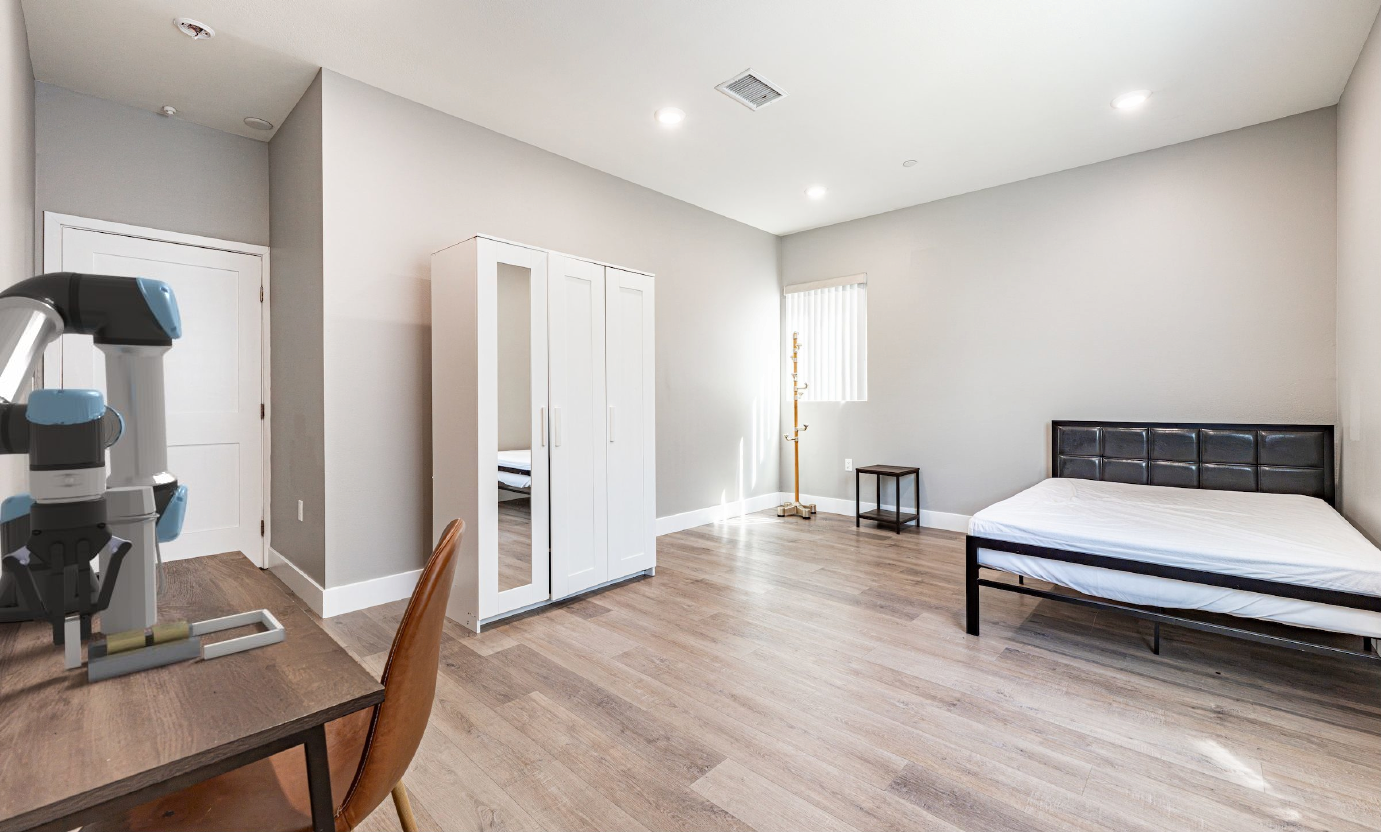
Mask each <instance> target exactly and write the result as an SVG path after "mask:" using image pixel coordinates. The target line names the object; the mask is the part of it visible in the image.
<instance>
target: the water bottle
mask: <svg viewBox="0 0 1381 832" xmlns="http://www.w3.org/2000/svg"><path fill="white" fill-rule="evenodd" d="M101 497H104V498H105V499H106V500H107V526H108V528H109V529H110V530H111V532H112V536H114V537H117V538H120V539H122V540H130V541H131V544H132V547H131V549H130V550H129V551H128V552H127V554H126V555H125V556H124V558H123V559H122V563H121V566H120V569H119V573H118V576H117V580H116V583H115V586H114V590H113V593H112V596H111V600H110V603H109V606H108V608H107V609H106V610H103V611H99V623H100V625H99V627H100V628H99V629H100V631H99V632H100V633H101V634H103V635H106V636H108V635H113V634H118V633H123V632H128V631H133V630H138V629H143V630H144V629H147V628H149V627H153V626H155V625H156V623H157V622H158V613H157V612H158V607H157V603H158V602H157V598H159V597H162V596H163V595H164V590H165V577H164V571H163V569H164V568H163V562H162V558H161V549H160V545H159V544H160V543H158V536H157V530H156V523H155V522H156V520H157V517H159V516H160V515H159V514H158V513H155V511H156V506H155V500H154V493H153V487H151V486H133V487H119V488H110V489H106V492H105V493H104V494H101ZM109 547H110V544H108V543H107V544H106V546H105V547H104V548H103V549H102V550H101V551H100V552H99V554H98V581H99V592H100V590H101V587H102V584H103V580H104V577H105V574H106V570H107V567H108V564H109V560H110V557H111V555H112V553H110V551H109ZM156 562H157V564H156ZM156 566H157V568H158V573H159V574H158V575H159V591H158V594H157V568H156Z"/></svg>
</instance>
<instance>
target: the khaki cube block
mask: <svg viewBox="0 0 1381 832" xmlns="http://www.w3.org/2000/svg"><path fill="white" fill-rule="evenodd" d="M188 624H189V623H188V622H187V620H185V619H183V620H179V621H174V622H169V623H165V624H159V625H152V626H151V631H152V646H155V645H160V644H164V643H169V642H173V641H178V640H183V639H187V638H189V626H188Z"/></svg>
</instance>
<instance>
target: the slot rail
mask: <svg viewBox="0 0 1381 832" xmlns="http://www.w3.org/2000/svg"><path fill="white" fill-rule="evenodd" d="M187 624H188V626H189V638H187V639H183V640H178V641H173V642H169V643H164V644H160V645H155V646H152V630H150V631H144V633H145V648H141V649H136V650H132V651H127V652H123V653H118V654H113V655H109V656H107V639H106V640H101V641H96V642H91V643H87V644H86V645H87V646H86V647H87V650H86V651H87V670H88V672H87V673H88V683H93V682H96V681H97V682H98V681H102V680H106V679H110V678H115V677H118V676H123V675H127V674H131V673H136V672H141V671H144V670H148V669H152V668H157V667H161V666H165V665H169V664H173V663H179V662H181V661H182V662H183V661H185V660H186V661H187V660H190V659H195V658H199V657H201V638H200V637H199V635H195V636H193V625H192V624H193V623H192V622H189V623H187Z"/></svg>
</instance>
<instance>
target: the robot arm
mask: <svg viewBox="0 0 1381 832" xmlns="http://www.w3.org/2000/svg"><path fill="white" fill-rule="evenodd" d="M69 334H72V335H85V336H87V335H89V336H92V338H93V339H92V341H93V342H92V343H93V345H92V346H94V347H96V348H97V349H98V350H99V351H101V352H102V353H103V354H104V361H105V362H104V365H105V384H106V389H105V390H106V404H105V402H104V401H105V400H104V394H103V393H102V392H101V391H99V390H97V389H87V388H85V389H81V388H79V389H77V388H38V389H33V390H32V391H30V393H29V394H28V396H27V403H20V400H21V398H22V397H23V394H24V392H25V390H26V388H27V387H28V384H29V382H30V381H31V378H32V376H33V374H34V372H35V371H36V369H37V367H38V365H39V363H40V360H41V359H42V357H43V355H44V354H45V351H46V349H47V347H48V345H49V344H50V343H53V342H55V341H56V340H58V339H59V338H60V337H61V336H62V335H69ZM182 336H183V330H182V320H181V314H180V310H179V305H178V303H177V299H176V296H175V293H174V291H173V289H172V287H171V286H170V285H169V284H168V283H167V282H165V281H163V280H160V279H159V280H157V279H152V278H144V277H140V276H137V277H135V276H133V277H132V276H121V275H119V276H118V275H106V274H94V273H84V272H83V273H80V272H75V271H73V272H72V271H57V272H50V273H42V274H39V275H34V276H32V277H29V278H26V279H23V280H22V281H21V280H20V281H19V282H16V283H14V284H13V285H11V286H9V287H7V288H6V289H4V290H2V291H1V292H0V456H2V455H28V461H29V463H28V464H29V465H28V466H29V467H28V479H29V480H28V483H29V491H27V492H23V493H18V494H14V495H10V496H8V497H7V498H5V499H4V500H3V501H2V503H1V504H0V561H1V563H0V564H1V574H0V575H1V576H0V623H10V622H12V623H13V622H24V621H32V620H33V621H34V622H35V623H41V622H43V623H44V622H48V623H50V624H51V625H52V643H53V645H54V647H57V646H62V645H64V650H65V651H64V652H65V654H64V656H65V659H64V660H65V670H68V669H73V668H77V667H81V666H82V653H81V652H82V651H81V649H82V648H81V647H82V646H81V643H82V641H86V640H90V639H91V638H92V636H93V635H92V632H93V631H92V630H93V629H92V627H93V626H92V617H93V616H94V615H96V614H98V613H100V611H103V610H106V609H107V608H108V606H109V603H110V600H111V596H112V593H113V590H114V586H115V583H116V580H117V576H118V573H119V569H120V566H121V563H122V559H123V558H124V556H125V555H126V554H127V552H128V551H129V550H130V549H131V547H132V544H131V541H130V540H122V539H120V538H117V537H114V536H112V532H111V530H110V529H109V528H108V526H107V500H106V499H105V498H104V497H101V494H104V493H105V492H106V489H110V488H119V487H133V486H151V487H153V493H154V500H155V506H156V511H155V513H158V514H159V515H160V516H159V517H157V520H156V522H155V523H156V530H157V536H158V543H159V544H162V543H169V542H172V541H175V540H177V538H179V536H180V534H181V533H182V529H183V525H184V520H185V515H186V510H187V503H188V490H189V489H188V487H187V486H186V485H183V484H178V476H176V474H174V473H172V472H171V471H170V470H169V468H168V448H167V445H168V444H167V427H166V425H167V422H166V401H165V400H166V397H165V374H164V372H165V371H164V355H165V354H166V353H168V352H169V351H170V350H171V349H172V348H173V340H177V339H178V340H179V339H181V338H182ZM108 448H109V463H110V464H109V467H110V468H109V469H110V474H109V475H108V476H107V466H106V450H107V449H108ZM107 543H108V544H110V547H109V551H110V553H112V555H111V557H110V560H109V564H108V567H107V570H106V574H105V577H104V580H103V584H102V587H101V590H100V592H99V578H98V577H97V575H96V573H95V571H94V569H93V567H92V565H91V561H92V560H94V559H95V558H96V557H97V556H99V552H100V551H101V550H102V549H103V548H104V547H105V546H106V544H107ZM77 611H78V615H75V616H68V617H66V614H69V613H73V612H77Z"/></svg>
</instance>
